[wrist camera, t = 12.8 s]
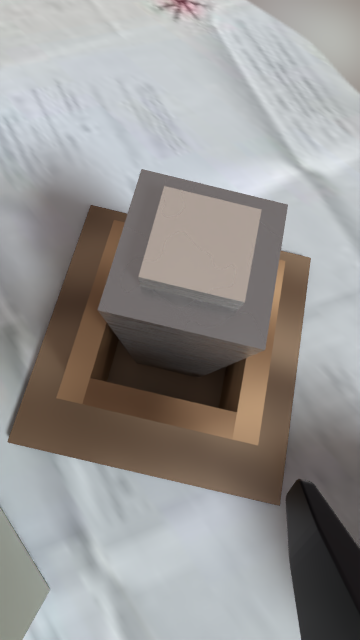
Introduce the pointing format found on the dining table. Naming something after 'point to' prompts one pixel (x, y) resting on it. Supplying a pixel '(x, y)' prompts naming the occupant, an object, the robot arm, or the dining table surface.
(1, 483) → the dining table surface
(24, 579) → the narrow slot block
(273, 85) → the dining table surface
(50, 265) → the dining table surface
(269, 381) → the square sleeve
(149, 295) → the square bit
